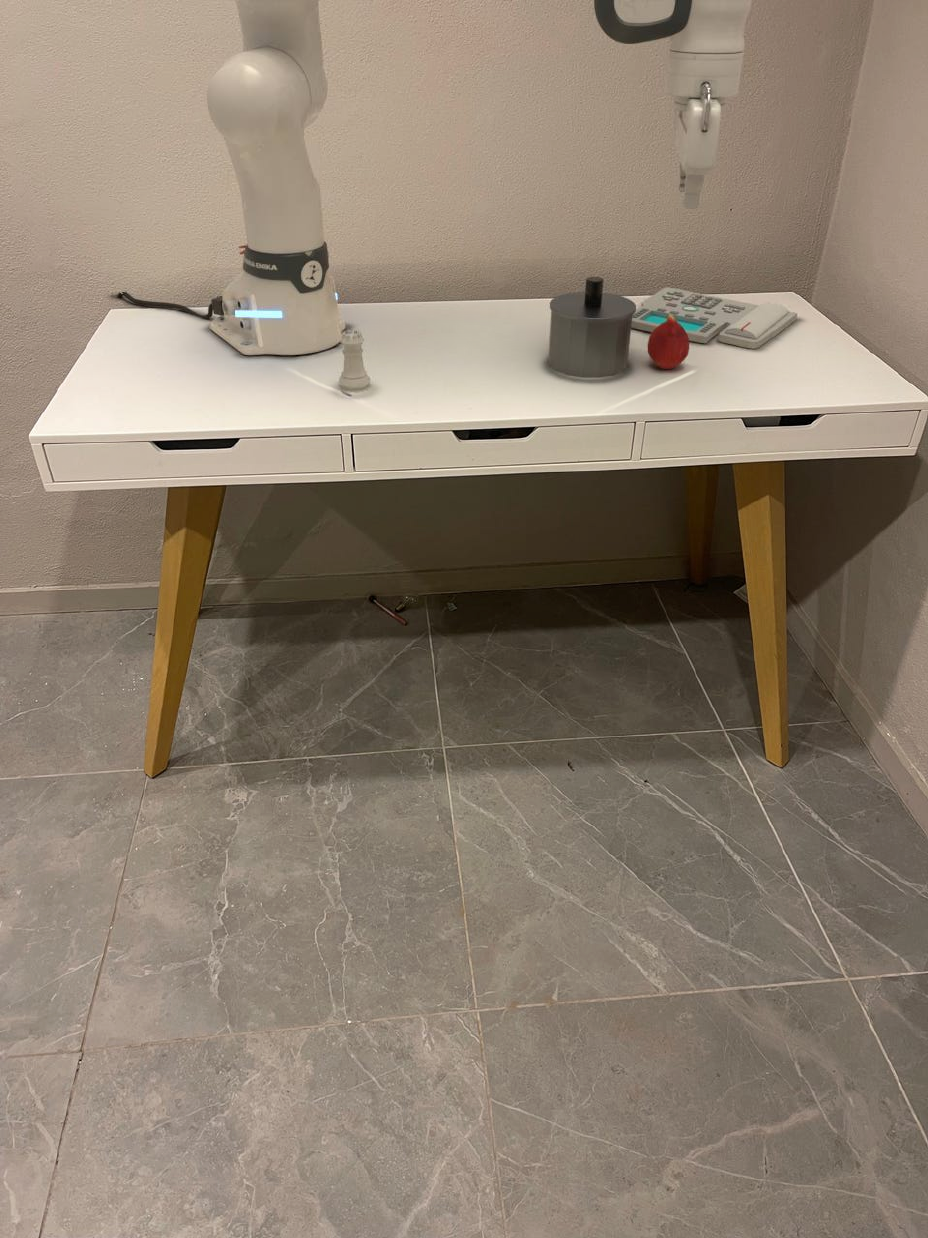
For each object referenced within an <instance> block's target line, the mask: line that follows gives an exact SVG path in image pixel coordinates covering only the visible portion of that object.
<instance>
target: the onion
mask: <svg viewBox="0 0 928 1238" xmlns="http://www.w3.org/2000/svg"><path fill="white" fill-rule="evenodd" d="M690 344H691V343H690V340H689V338H688V335H687V333H686V331H685V330H684V328H683V327H682V326H681V325H680V324H679V323H678V322H677V321H676V320H675V319H674V317H673V315H668V318H667V320H666V322H664V323H662V324H661V325H659V326H658V327H657V328H655V329H654V331H653V332H650V335H649V337H648V340H647V353H648V355H649V357H650V359H651V361H653V363H654V364H655V365H656V366H657V367H658V368H659V369H661V370H672V369H673V368H675V367H677V366H678V365H680V364H681V363H683V362H684V361H685V359H686V358H687V357H688V355H689V352H690Z"/></svg>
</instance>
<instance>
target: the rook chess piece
mask: <svg viewBox="0 0 928 1238" xmlns="http://www.w3.org/2000/svg"><path fill="white" fill-rule="evenodd" d="M351 331H352V330H351V329H347V330H346V331H344V330H343V331H342V332H341V333H342V337H341V339H340V342H339V343H341V344H342V346H343V349H342V350H341V352H342V354H343V370H342V372H341V375H340V376H339V380H338V383H339V384H340V385H339V386H338V387H339V390H340V392H341V393H342V394H343V395H346V396H350V397H353V395H352V394H357V393H358V394H359V393H364V392H367V391H369V390H371V386H372V385H371V384H370V383H371V377H370V376H369V375H368V372H367V371H366V369H365V366H364V360H363V353H364V350H363V348H362V345H363V343H364V342H365V338H364V337H363V335H362V332H361V330H359V331H358V329H353V332H351Z"/></svg>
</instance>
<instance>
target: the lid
mask: <svg viewBox="0 0 928 1238" xmlns="http://www.w3.org/2000/svg"><path fill="white" fill-rule="evenodd" d="M549 309H550V312H551V311H552V312H554V313H555V314H557V315H559V316H561V317H564V318H568V319H572V320H578V321H586V322H609V321H617V320H622V319H625V318H628V317H630V316H632V315H633V314H634V313H635V312H636V310H637V305H636V303H635V301H633V300H631V299H630V298H627V297H625V296H622V295H619V294H614V293H609V292H604V278H603V277H601V276H588V277H586V278H585V289H584V291H576V292H568V293H563V294H559V295H557V296H555V297H553V298H552V299H551V300H550V301H549Z"/></svg>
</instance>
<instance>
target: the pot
mask: <svg viewBox="0 0 928 1238" xmlns="http://www.w3.org/2000/svg"><path fill="white" fill-rule="evenodd" d="M631 325H632V316H630V317H628V318H625V319H622V320H617V321H609V322H586V321H578V320H572V319H568V318H564V317H561V316H559V315H557V314H555V313H554V312H552V311H551V310H550V325H549V340H548V341H549V342H548V358H547V360H548V366H549V367H550V368H551V369H553V370H554V371H555V372H558V373H561V374H563V375H566V376H571V377H577V378H582V379H584V378H585V379H600V378H607V377H613V376H616V375H618V374H621V373H623V372H625V370H626V369H627V367H628V363H629V354H630V353H629V352H630V343H631V342H630V341H631V334H632V328H631Z"/></svg>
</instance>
